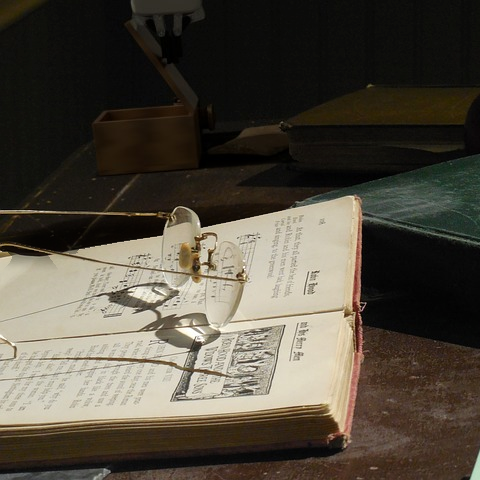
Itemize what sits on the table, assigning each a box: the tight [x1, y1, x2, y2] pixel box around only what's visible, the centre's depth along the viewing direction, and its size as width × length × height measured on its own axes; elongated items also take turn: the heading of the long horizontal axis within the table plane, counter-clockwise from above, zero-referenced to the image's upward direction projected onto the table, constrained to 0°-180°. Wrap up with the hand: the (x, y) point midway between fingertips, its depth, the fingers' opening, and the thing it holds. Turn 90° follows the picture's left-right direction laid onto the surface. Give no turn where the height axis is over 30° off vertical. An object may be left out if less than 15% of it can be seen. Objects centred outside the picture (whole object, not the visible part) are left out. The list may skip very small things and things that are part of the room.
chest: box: [91, 105, 203, 177], centre depth 144 cm, size 15×12×8 cm
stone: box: [206, 124, 290, 157], centre depth 149 cm, size 11×16×3 cm
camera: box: [172, 90, 217, 151], centre depth 158 cm, size 16×7×8 cm, turn 1°
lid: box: [124, 18, 200, 114], centre depth 141 cm, size 16×12×1 cm
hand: (173, 62), depth 141 cm, fingers closed
